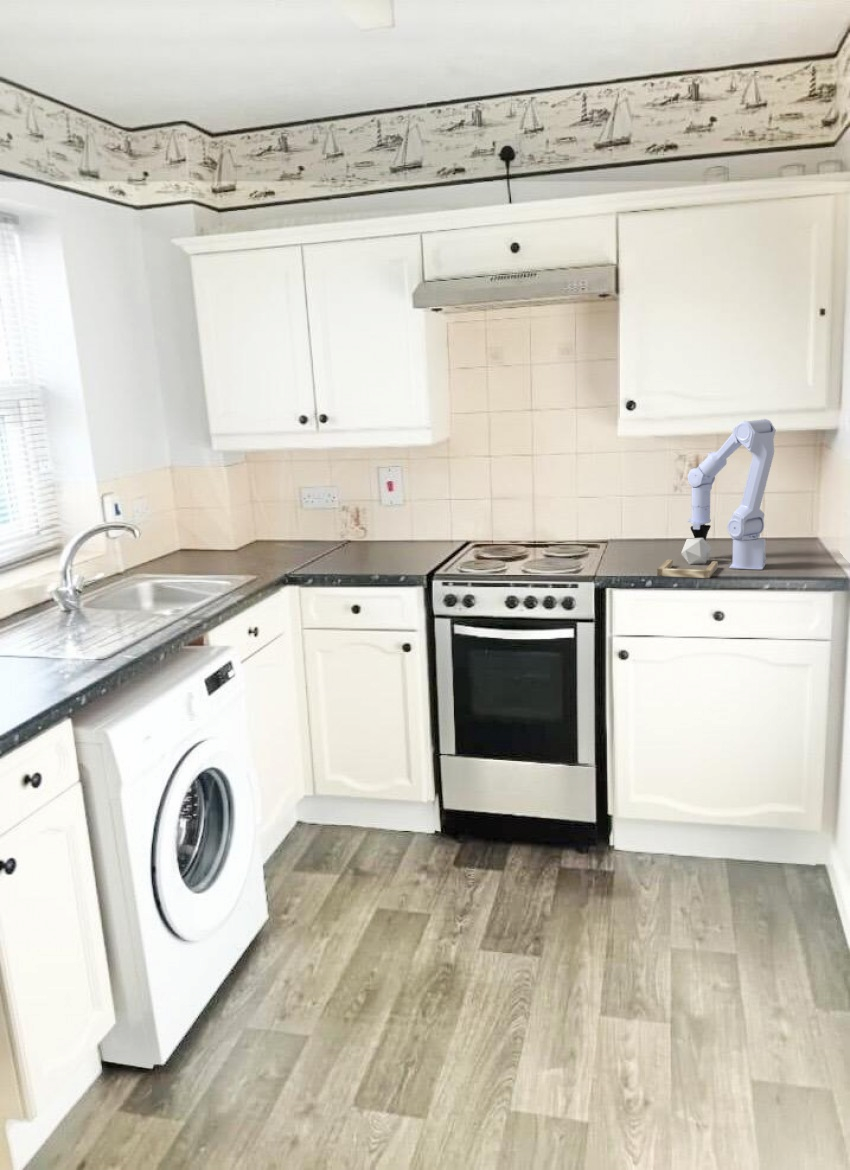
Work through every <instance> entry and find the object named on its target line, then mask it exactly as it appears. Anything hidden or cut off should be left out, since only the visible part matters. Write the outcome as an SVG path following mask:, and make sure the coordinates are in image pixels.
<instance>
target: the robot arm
mask: <svg viewBox="0 0 850 1170" xmlns="http://www.w3.org/2000/svg"><path fill="white" fill-rule="evenodd" d="M775 435H776V429H775V426H774V425H773V423H772V422H771V421H770V420H769V419H767V418H762V419H758V420H757V419H756V420H742V421H740V422H738V424H737V425H736V426H735V427H734V428H733V429H732V433H731V435H729V437H728V438H727V439H726V441H725V442H724V443H723V444H722V445H721V447H720V448H719V449H718V450H717V451H712V452H708V454H707V457H705V459H704V460H703V461H702V462H700V463H699V464H698V466H697V467H693V468H691V469H690V470H689V472H688V474H687V482H688V484H689V485H690V486H691V499H690V501H691V503H690V505H691V509H690V510H691V513H690V514H691V515H690V516H691V517H690V518H688V519H687V520H686V521H687V523H691V524H692V525H691V526H690V531H691V533H692V534H693V535H692V536H693V538H704V540H705V541H706V542H707V536H708V533H709V531H710V529H711V524H710V523H711V521H712V520H711V491H712V488H713V484H714V482H715V480H716V476H717V474H718V473H719V472H721V471H722V469H723V468H724V467H725V466H726V465H727V461H728V460H727V459H728V458H729V457H731V455H732V454H733V453H735V451H737V449H739V448H740V447H741V446H742V445H743V447H744V448H745V449H747V450H748V451H749V452H750V453H751V455H752V458H751V462H750V466H749V470H748V474H747V477H746V478H747V479H746V481H745V487H744V490H743V494H742V497H741V502H740V505H739V506H738V507H737V508H736V509H735V510H734V511H733V513H732V517H730V519H729V520H728V522H727V528H726V529H727V532H728V534H729V536H730V537H731V539H732V562H731V564H730V565H729V569H735V570H736V569H737V570H739V569H740V570H741V569H742V570H759V571H760V570H764V568H765V566H766V562H767V561H766V560H767V557H766V552H767V551H766V550H767V549H766V546H767V541H766V539H765V538H760V537H761V536H760V535H761V533H762V532H763V531H764V529H765V520H764V519H765V512H764V511H762V509H761V505H762V501H763V497H764V494H765V490H766V486H767V481H768V478H769V475H770V470H771V467H772V462H773V459H774V455H775V443H774V442H775V441H774V440H775Z"/></svg>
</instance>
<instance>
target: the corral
mask: <svg viewBox="0 0 850 1170" xmlns="http://www.w3.org/2000/svg"><path fill="white" fill-rule="evenodd" d="M673 561H674V560H673V559H667V560H665V561H664V562H663V563H662V564H661V565H660V566H659V567H658V568H657V569H656V570H657V571H656V573H657V574H656V575H657V576H658V577H672V578H673V577H675V578H676V577H677V578H696V579H697V578H702V579H711V577H712V575H713V574H714V573H715V572H716V571H717V569H718V566H719V565H718V564H719V563H718V562H719V561H711V563H710V564H709V565H708V566H707V567H706V568H705V569H691V568H690V569H688V568H687V569H686V568H685V569H684V568H672V567H673V564H674V562H673Z"/></svg>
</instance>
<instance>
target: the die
mask: <svg viewBox="0 0 850 1170" xmlns="http://www.w3.org/2000/svg"><path fill="white" fill-rule="evenodd" d="M685 540H686V541H685V543H684V545H683V548H682V550H681V553H680V554H681V556H682V557H683V558H684V560H686V562H687V563H688V565H701V564H707V561H708V559H709V556H710V554H711V552H712V547H711V546H710V545H709V543H708V542H707V540H706V541H705V540H704V538H694V537H693V538H686V539H685Z"/></svg>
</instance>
